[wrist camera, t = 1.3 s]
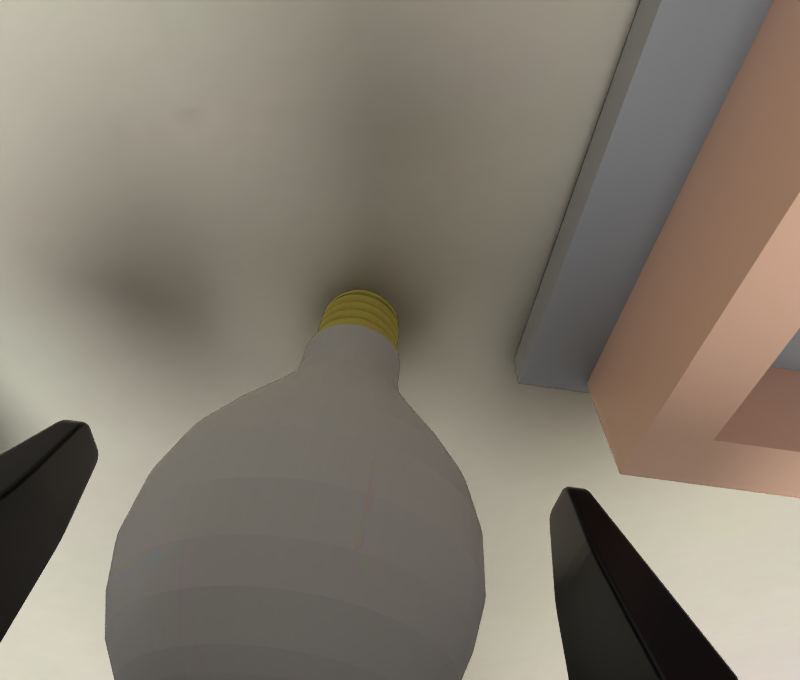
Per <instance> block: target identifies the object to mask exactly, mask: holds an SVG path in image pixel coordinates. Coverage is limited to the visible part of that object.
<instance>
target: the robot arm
mask: <svg viewBox="0 0 800 680" xmlns="http://www.w3.org/2000/svg"><path fill="white" fill-rule="evenodd" d="M97 460H98V449H97V446H96V443H95V441H94V438H93V435H92V432H91V430H90V427H89V425H88V424H86V423H85V422H80V421H72V420H62V421H59V422H57V423H55V424H53V425H52V426H50V427H48V428H46V429H45V430H43V431H41V432H39V433H38V434H36V435H34V436H32V437H31V438H29V439H27V440H25V441H24V442H22V443H20V444H18V445H17V446H15V447H13V448H11V449H10V450H8V451H6V452H4V453H3V454H1V455H0V642H1V641H2V639H3V637H4V636H5V634H6V632H7V630H8V629H9V627H10V625H11V624H12V622H13V620H14V619H15V617H16V615H17V614H18V612H19V610H20V609H21V607H22V605H23V604H24V602H25V600H26V598H27V597H28V595H29V593H30V592H31V590H32V588H33V587H34V585H35V583H36V582H37V580H38V578H39V577H40V575H41V573H42V572H43V570H44V568H45V566H46V565H47V563H48V561H49V560H50V558H51V556H52V555H53V553H54V551H55V549H56V548H57V546H58V544H59V542H60V541H61V539H62V537H63V535H64V533H65V531H66V529H67V526H68V524H69V522H70V520H71V518H72V516H73V513H74V511H75V509H76V507H77V505H78V503H79V500H80V498H81V496H82V494H83V492H84V490H85V487H86V485H87V483H88V481H89V479H90V477H91V474H92V472H93V470H94V468H95V466H96V463H97ZM550 535H551V550H552V564H553V578H554V592H555V602H556V609H557V616H558V621H559V627H560V632H561V638H562V644H563V649H564V655H565V660H566V666H567V672H568V677H569V680H738V678H737V676H736V675H735V674H734V672H733V671H732V670H731V669H730V667H729V666H728V665H727V664H726V662H725V661H724V660H723V659H722V657H721V656H720V655H719V654H718V652H717V651H716V650H715V649H714V647H713V646H712V645H711V644H710V642H709V641H708V640H707V639H706V637H705V636H704V635H703V633H702V632H701V631H700V630H699V628H698V627H697V626H696V625H695V623H694V622H693V621H692V620H691V618H690V617H689V616H688V615H687V613H686V612H685V611H684V610H683V608H682V607H681V606H680V605H679V603H678V602H677V601H676V600H675V598H674V597H673V596H672V595H671V593H670V592H669V591H668V590H667V588H666V587H665V586H664V585H663V583H662V582H661V581H660V580H659V578H658V577H657V576H656V575H655V573H654V572H653V571H652V570H651V568H650V567H649V566H648V565H647V563H646V562H645V561H644V560H643V558H642V557H641V556H640V555H639V553H638V552H637V551H636V550H635V548H634V547H633V546H632V544H631V543H630V542H629V541H628V539H627V538H626V537H625V536H624V534H623V533H622V532H621V531H620V529H619V528H618V527H617V526H616V524H615V523H614V522H613V521H612V519H611V518H610V517H609V516H608V514H607V513H606V512H605V511H604V509H603V508H602V507H601V506H600V504H599V503H598V502H597V501H596V499H595V498H594V497H593V496H592V494H591V493H590V492H589V491H587V490H586V489H582V488H575V487H566V488H564V489H563V490H562V492H561V494H560V496H559V498H558V500H557V501H556V503H555V505H554V507H553V509H552V511H551V514H550Z"/></svg>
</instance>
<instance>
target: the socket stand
mask: <svg viewBox="0 0 800 680" xmlns="http://www.w3.org/2000/svg"><path fill="white" fill-rule="evenodd" d="M514 363H515V368H516V373H517V378H518V383H520V384H527V385H534V386H541V387H549V388H556V389H563V390H570V391H577V392H584V393H590V395H591V397H592V400H593V403H594V406H595V408H596V411H597V414H598V416H599V419H600V422H601V424H602V427H603V430H604V432H605V435H606V438H607V440H608V443H609V446H610V448H611V451H612V454H613V456H614V459H615V462H616V464H617V467H618V470H619V472H620V474H624V475H632V476H639V477H647V478H654V479H661V480H669V481H676V482H684V483H691V484H699V485H706V486H714V487H721V488H728V489H736V490H743V491H751V492H758V493H766V494H773V495H781V496H788V497H795V498H800V0H641V1H640V4H639V6H638V9H637V12H636V15H635V18H634V21H633V23H632V26H631V29H630V32H629V35H628V38H627V41H626V43H625V46H624V49H623V52H622V55H621V58H620V60H619V63H618V66H617V69H616V72H615V75H614V77H613V80H612V83H611V86H610V89H609V92H608V95H607V97H606V100H605V103H604V106H603V109H602V112H601V114H600V117H599V120H598V123H597V126H596V129H595V131H594V134H593V137H592V140H591V143H590V146H589V149H588V151H587V154H586V157H585V160H584V163H583V166H582V168H581V171H580V174H579V177H578V180H577V183H576V185H575V188H574V191H573V194H572V197H571V200H570V203H569V205H568V208H567V211H566V214H565V217H564V220H563V222H562V225H561V228H560V231H559V234H558V237H557V240H556V242H555V245H554V248H553V251H552V254H551V257H550V259H549V262H548V265H547V268H546V271H545V274H544V276H543V279H542V282H541V285H540V288H539V291H538V294H537V296H536V299H535V302H534V305H533V308H532V311H531V313H530V316H529V319H528V322H527V325H526V328H525V330H524V333H523V336H522V339H521V342H520V345H519V348H518V350H517V353H516V356H515V359H514Z"/></svg>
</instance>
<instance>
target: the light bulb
mask: <svg viewBox="0 0 800 680" xmlns="http://www.w3.org/2000/svg"><path fill="white" fill-rule="evenodd" d="M398 335H399V333H398V320H397V316H396V313H395V311H394V310H393V308H392V307H391V305H390V304H389V303H388V302H387V301H386V300H385V299H384V298H383V297H381V296H380V295H378V294H376V293H373V292H370V291H367V290H351V291H348V292H344V293H342V294H341V295H339V296H337V297H335V298H334V299H333V300H332V301H331V302H330V303H329V305H328V306H327V308H326V310H325V312H324V314H323V318H322V320H321V324H320V327H319V329H318V333H317V334H316V335H315V336H313V337H312V339H311V340H310V341H309V343H308V345H307V347H306V349H305V353H304V356H303V359H302V362H301V365H300V367H299V368H298V370H297V371H295V372H293V373H291V374H289V375H287V376H285V377H283V378H281V379H280V380H277V381H275V382H273V383H270V384H268V385H266V386H264V387H261V388H259V389H257V390H255V391H252V392H250V393H248V394H245V395H243V396H242V397H240V398H238V399H236V400H235V401H233V402H231V403H229V404H228V405H226V406H224V407H223V408H221V409H219V410H217V411H216V412H214V413H212V414H210V415H209V416H207V417H205V418H204V419H202V420H201V421H200V422H198V423H197V424H196V425H194V426H193V427H192V428H191V429H190V430H189V431H188V432H187V433H186V434H185V435H184V436H183V437H182V438H181V439H180V441H179V442H178V443H177V444H176V445H175V446H174V447H173V448H172V449H171V450H170V451H169V452H168V453H167V454H166V455H165V456H164V457H163V459H162V460H161V461H160V462H159V463H158V464H157V465H156V466H155V467H154V469H153V470H152V471H151V473H150V474H149V476H148V477H147V479H146V481H145V483H144V485H143V487H142V489H141V490H140V492H139V494H138V496H137V498H136V500H135V502H134V503H133V505H132V507H131V509H130V511H129V513H128V515H127V517H126V518H125V520H124V522H123V524H122V526H121V528H120V530H119V532H118V535H117V539H116V542H115V547H114V552H113V558H112V563H111V568H110V573H109V578H108V583H107V588H106V612H105V641H106V646H107V650H108V654H109V658H110V663H111V667H112V671H113V675H114V680H461V679H462V677H463V675H464V672H465V670H466V668H467V665H468V663H469V660H470V658H471V655H472V653H473V650H474V646H475V642H476V638H477V633H478V629H479V625H480V621H481V617H482V612H483V608H484V603H485V597H486V595H485V575H484V555H483V536H482V531H481V527H480V523H479V520H478V517H477V514H476V511H475V508H474V505H473V502H472V499H471V496H470V493H469V490H468V486H467V484H466V481H465V479H464V476H463V475H462V473H461V471H460V469H459V468H458V466H457V465H456V463H455V462H454V460H453V459H452V458H451V456H450V455H449V453H448V452H447V451H446V449H445V448H444V446H443V445H442V444H441V442H440V441H439V439H438V438H437V437H436V435H435V434H434V433H433V431H432V430H431V429H430V428H429V427H428V426H427V425H426V424H425V423H424V421H423V420H422V419H421V418H420V417H419V416H418V415H417V414H416V412H415V411H414V410H413V409H412V408H411V407H410V406H409V404H408V403H407V402H406V401H405V399H404V398H403V397H402V395H401V394H400V393H399V391H398V379H399V371H400V360H399V356H398V354H397V344H398Z"/></svg>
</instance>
